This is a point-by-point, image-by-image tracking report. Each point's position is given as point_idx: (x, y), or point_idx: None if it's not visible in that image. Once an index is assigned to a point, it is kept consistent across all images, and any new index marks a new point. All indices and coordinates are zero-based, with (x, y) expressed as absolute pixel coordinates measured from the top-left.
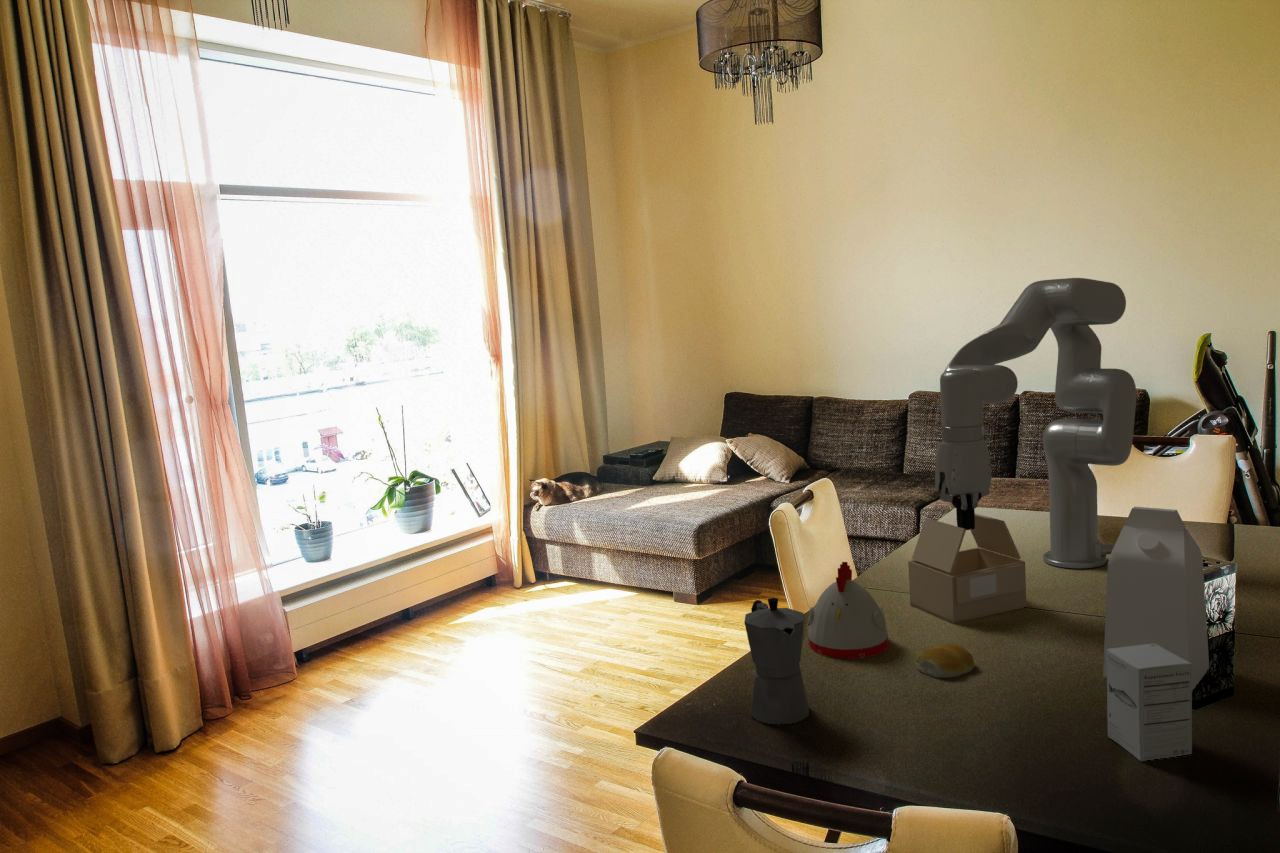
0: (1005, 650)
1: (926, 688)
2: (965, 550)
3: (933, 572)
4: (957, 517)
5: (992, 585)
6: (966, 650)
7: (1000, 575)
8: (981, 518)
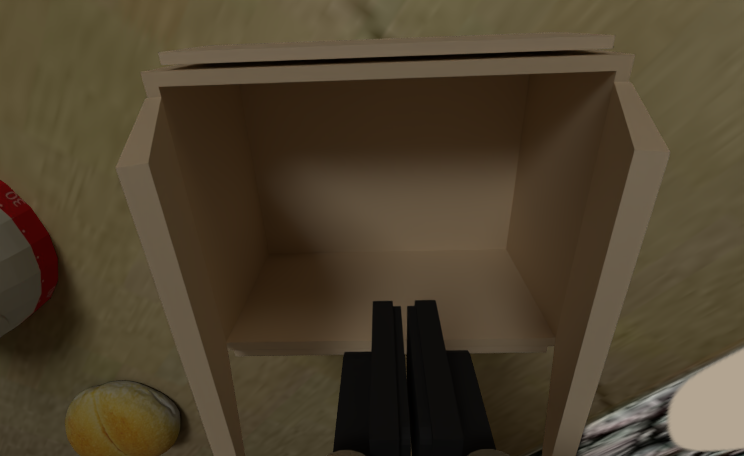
0: (278, 402)
1: (71, 448)
2: (530, 67)
3: None
4: (342, 396)
5: None
6: (156, 452)
7: None
8: (571, 371)
